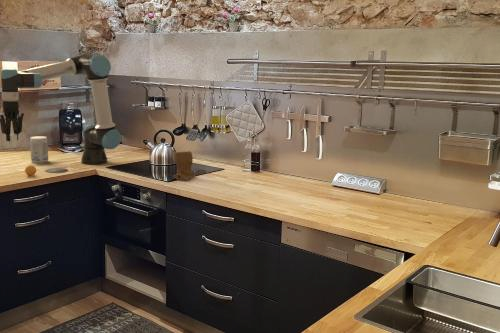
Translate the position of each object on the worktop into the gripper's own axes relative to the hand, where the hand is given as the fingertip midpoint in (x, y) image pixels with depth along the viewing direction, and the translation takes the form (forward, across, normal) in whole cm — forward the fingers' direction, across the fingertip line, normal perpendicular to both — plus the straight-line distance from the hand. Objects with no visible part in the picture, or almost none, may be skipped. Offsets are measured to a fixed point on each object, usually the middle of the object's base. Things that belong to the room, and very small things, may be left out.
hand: (12, 146), depth 264 cm
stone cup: (+17, +58, -64) cm, 88 cm away
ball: (+14, +10, 0) cm, 17 cm away
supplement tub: (+17, +37, +27) cm, 48 cm away
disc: (+16, +27, 0) cm, 31 cm away
